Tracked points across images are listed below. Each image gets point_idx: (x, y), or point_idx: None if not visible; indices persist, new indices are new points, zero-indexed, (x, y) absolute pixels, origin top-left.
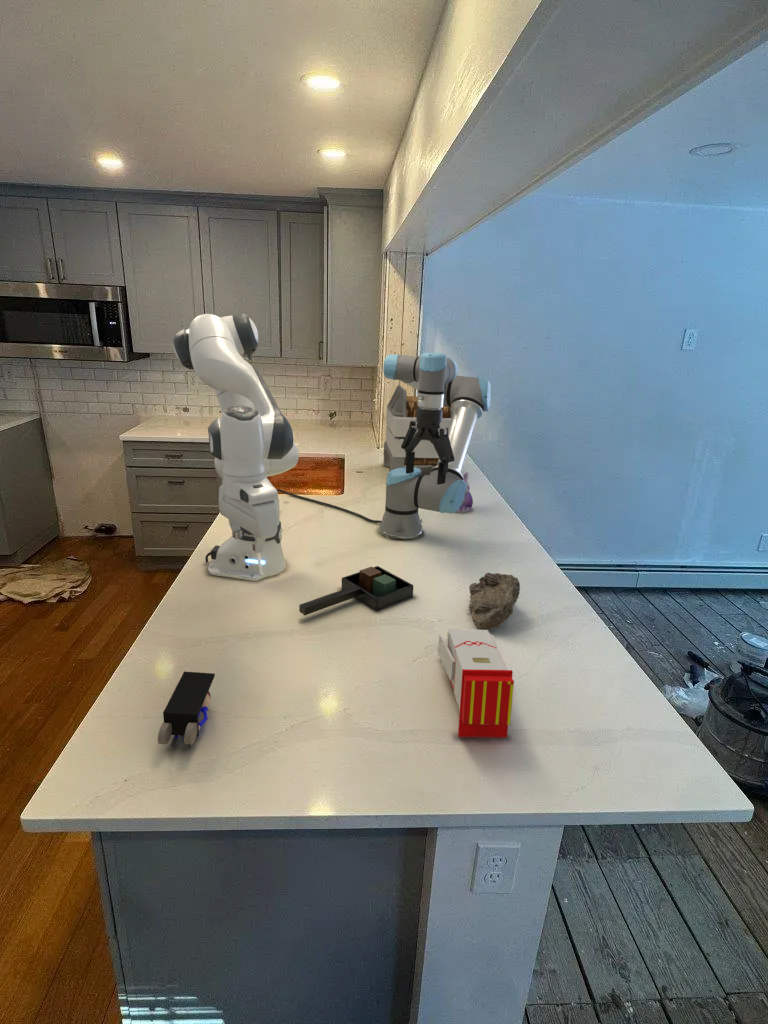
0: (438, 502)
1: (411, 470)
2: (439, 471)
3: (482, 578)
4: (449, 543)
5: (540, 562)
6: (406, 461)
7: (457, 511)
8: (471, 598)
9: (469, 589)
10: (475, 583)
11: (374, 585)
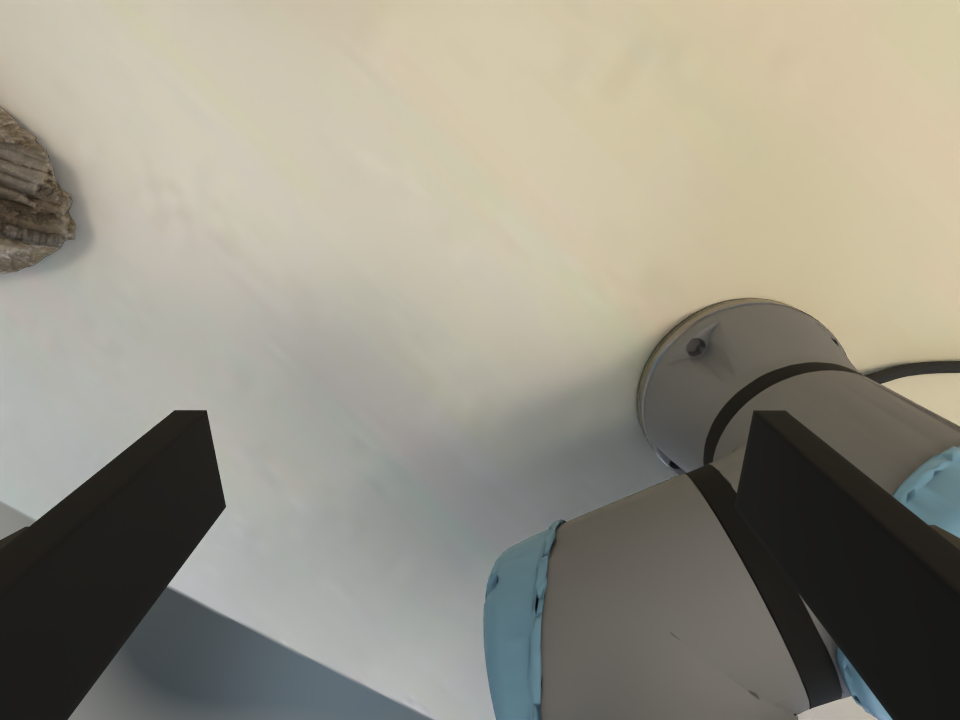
0: (563, 539)
1: (757, 492)
2: (49, 515)
3: (10, 223)
4: (514, 470)
5: (209, 590)
6: (904, 508)
7: None
8: (9, 124)
9: (43, 155)
10: (17, 181)
11: None
